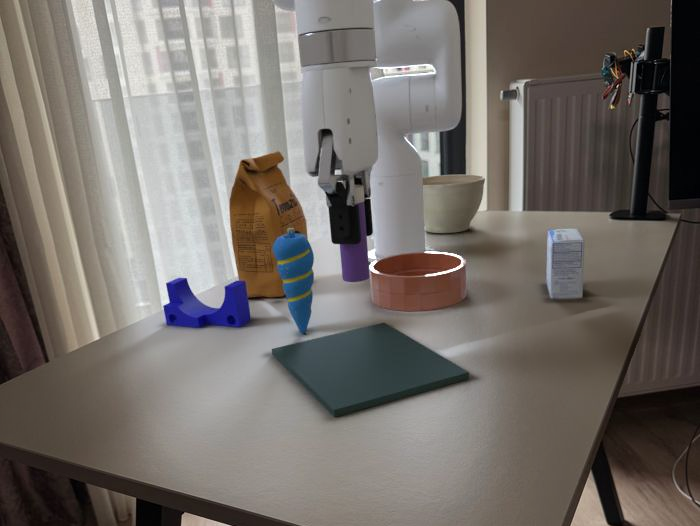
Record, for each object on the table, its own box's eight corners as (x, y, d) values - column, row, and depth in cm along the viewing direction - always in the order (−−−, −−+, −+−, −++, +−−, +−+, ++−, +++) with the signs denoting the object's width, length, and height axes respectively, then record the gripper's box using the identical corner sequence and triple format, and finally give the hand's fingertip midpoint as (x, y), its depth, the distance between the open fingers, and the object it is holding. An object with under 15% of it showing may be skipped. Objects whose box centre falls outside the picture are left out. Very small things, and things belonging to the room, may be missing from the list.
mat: (272, 354, 82) (271, 348, 81) (384, 327, 87) (384, 322, 87) (334, 417, 65) (333, 410, 64) (469, 378, 70) (469, 372, 70)
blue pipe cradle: (166, 324, 96) (159, 286, 94) (185, 315, 100) (178, 277, 98) (233, 330, 91) (227, 290, 89) (251, 320, 95) (245, 280, 93)
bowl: (356, 297, 101) (353, 262, 99) (434, 280, 107) (433, 247, 104) (400, 321, 89) (398, 283, 87) (485, 301, 94) (485, 264, 92)
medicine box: (582, 301, 91) (585, 240, 88) (549, 301, 92) (551, 241, 89) (576, 284, 98) (578, 227, 95) (545, 285, 99) (547, 229, 96)
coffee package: (322, 281, 111) (309, 148, 103) (282, 304, 101) (264, 158, 93) (274, 278, 116) (258, 151, 108) (232, 299, 106) (210, 160, 98)
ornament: (292, 342, 85) (278, 229, 79) (278, 332, 89) (263, 224, 84) (327, 334, 87) (316, 222, 82) (312, 324, 91) (300, 217, 86)
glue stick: (337, 278, 73) (329, 187, 69) (362, 273, 74) (355, 183, 70) (349, 284, 70) (341, 190, 66) (374, 278, 71) (368, 186, 67)
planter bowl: (498, 230, 137) (498, 178, 133) (427, 241, 133) (425, 187, 129) (464, 219, 151) (464, 171, 147) (400, 228, 147) (397, 179, 143)
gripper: (333, 59, 72) (347, 224, 79) (265, 56, 58) (289, 258, 65) (398, 52, 69) (406, 223, 76) (343, 47, 55) (360, 258, 62)
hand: (352, 237), depth 70 cm, fingers closed on glue stick, 3 cm apart
